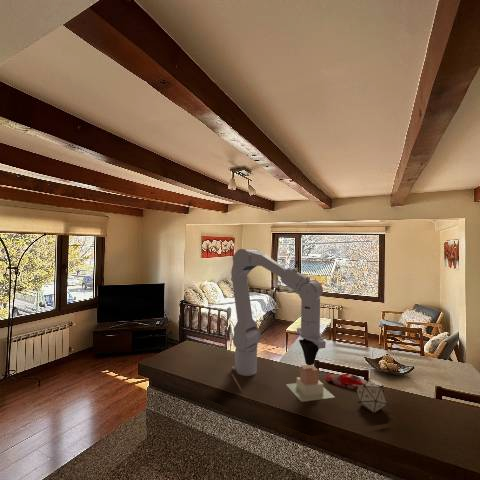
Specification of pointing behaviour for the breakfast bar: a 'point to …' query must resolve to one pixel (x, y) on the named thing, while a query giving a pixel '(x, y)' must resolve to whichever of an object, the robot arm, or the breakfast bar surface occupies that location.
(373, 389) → the game die
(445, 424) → the breakfast bar surface
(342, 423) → the breakfast bar surface
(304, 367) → the top brick
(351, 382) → the race car
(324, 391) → the build plate
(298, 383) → the base brick
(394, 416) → the breakfast bar surface
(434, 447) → the breakfast bar surface
